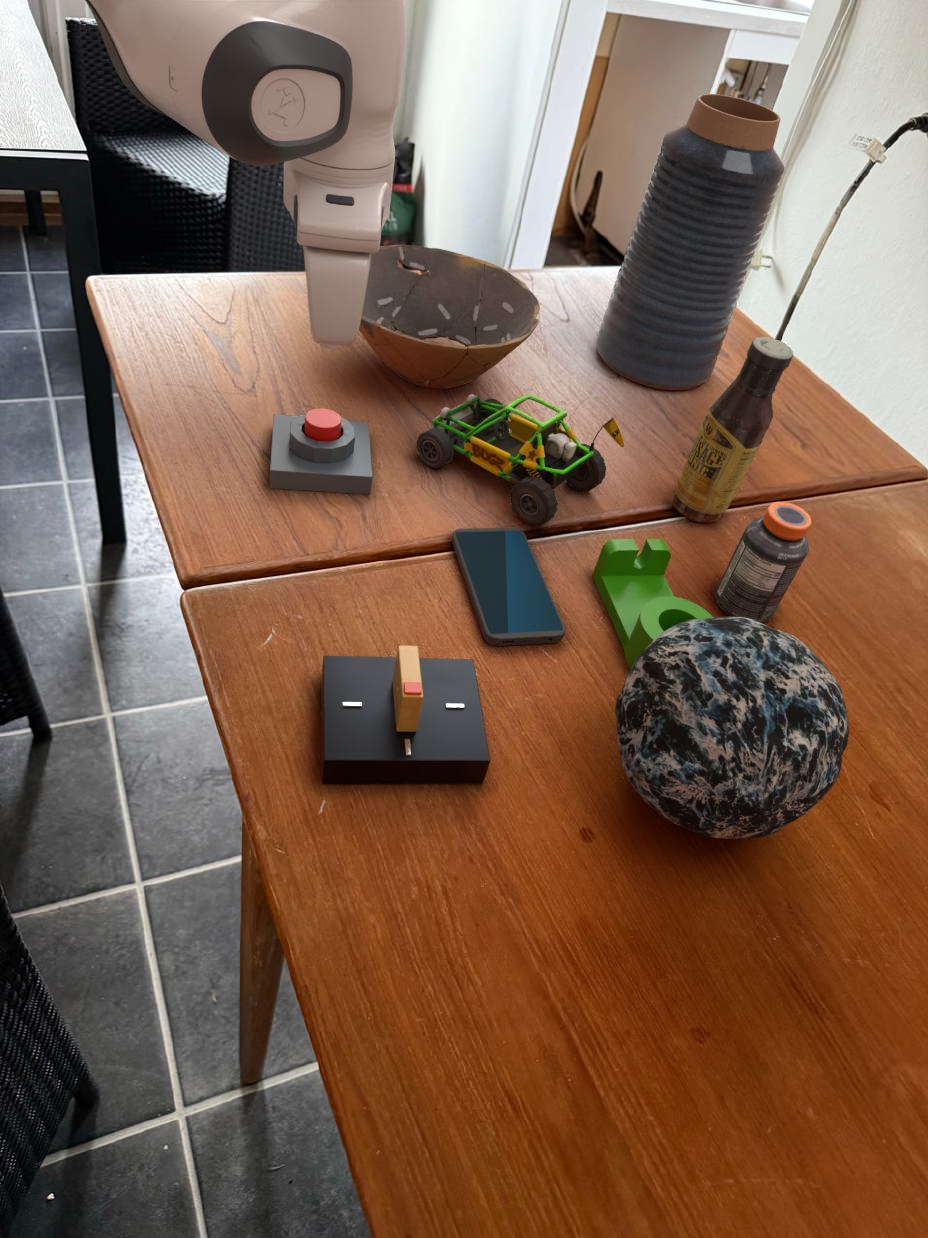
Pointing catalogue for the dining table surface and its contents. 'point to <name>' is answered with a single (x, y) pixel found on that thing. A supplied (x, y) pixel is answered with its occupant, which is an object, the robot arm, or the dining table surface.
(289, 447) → the grey button base
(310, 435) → the bell button
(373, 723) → the plate
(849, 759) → the dining table surface
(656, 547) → the tape dispenser
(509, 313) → the bowl
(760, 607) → the pill bottle
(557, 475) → the motor vehicle
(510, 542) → the smartphone
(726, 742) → the decorative stone
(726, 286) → the vase
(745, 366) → the sauce bottle
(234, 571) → the dining table surface
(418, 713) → the thumb turn
